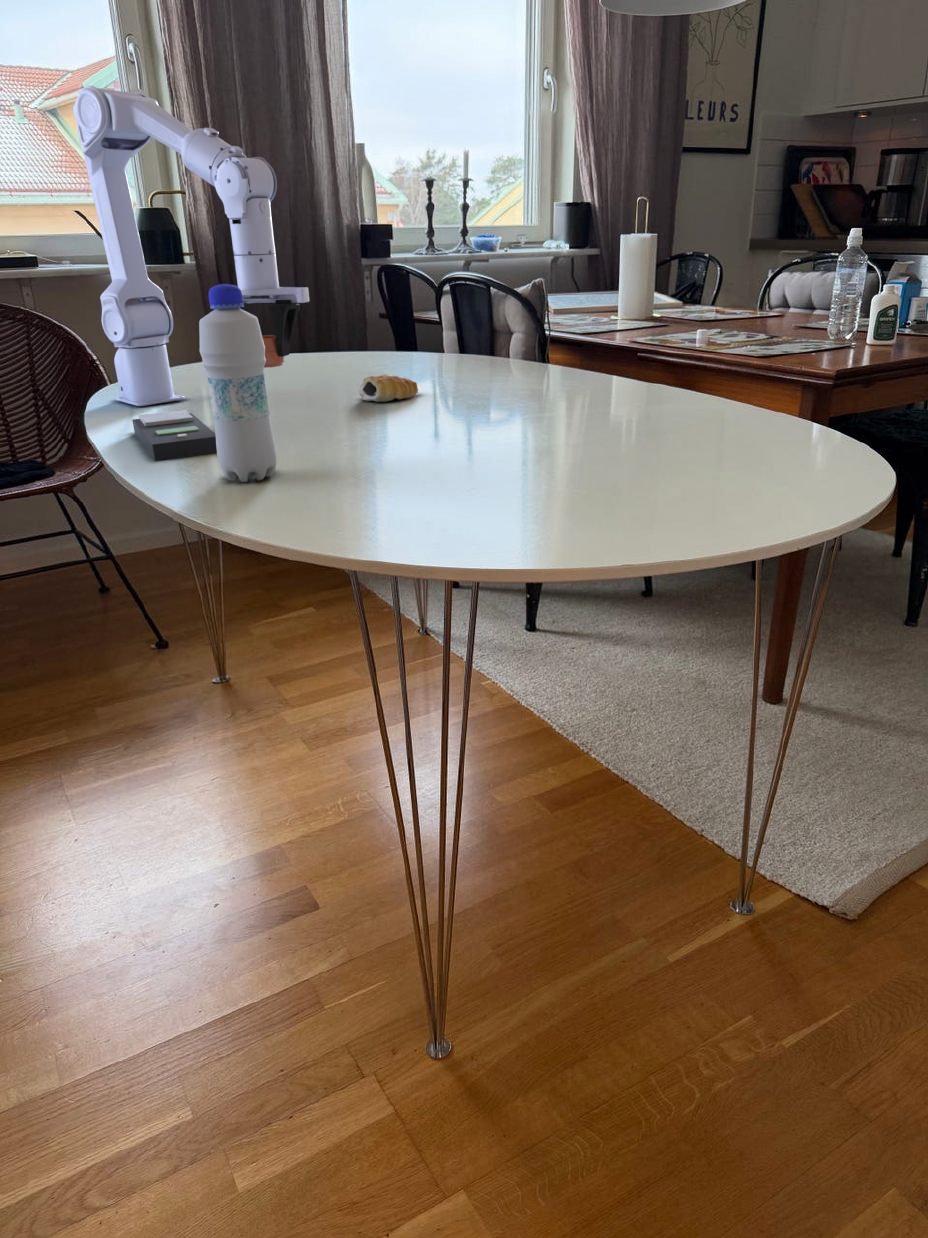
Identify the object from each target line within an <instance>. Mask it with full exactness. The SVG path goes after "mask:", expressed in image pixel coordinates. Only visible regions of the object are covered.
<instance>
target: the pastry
mask: <svg viewBox="0 0 928 1238" xmlns="http://www.w3.org/2000/svg"><path fill="white" fill-rule="evenodd" d="M418 393H419V388H418V383H417V382H416V381H413V380H411V379H410V378H408V377H401V376H399V375H398V376H397V375H390V374H381V375H375V376H371V375H370V376H366V377H365V378H364V379H363V380H362V383H361V385H360V389H359V396H360V397H361V399H362V401H366V402H371V401H374V402H377V403H378V402H384V403H386V402H389V401H393V400H394V399H398V400H403V399H408V398H409V399H410V398H413V397H414V396H416V395H417V394H418Z"/></svg>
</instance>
